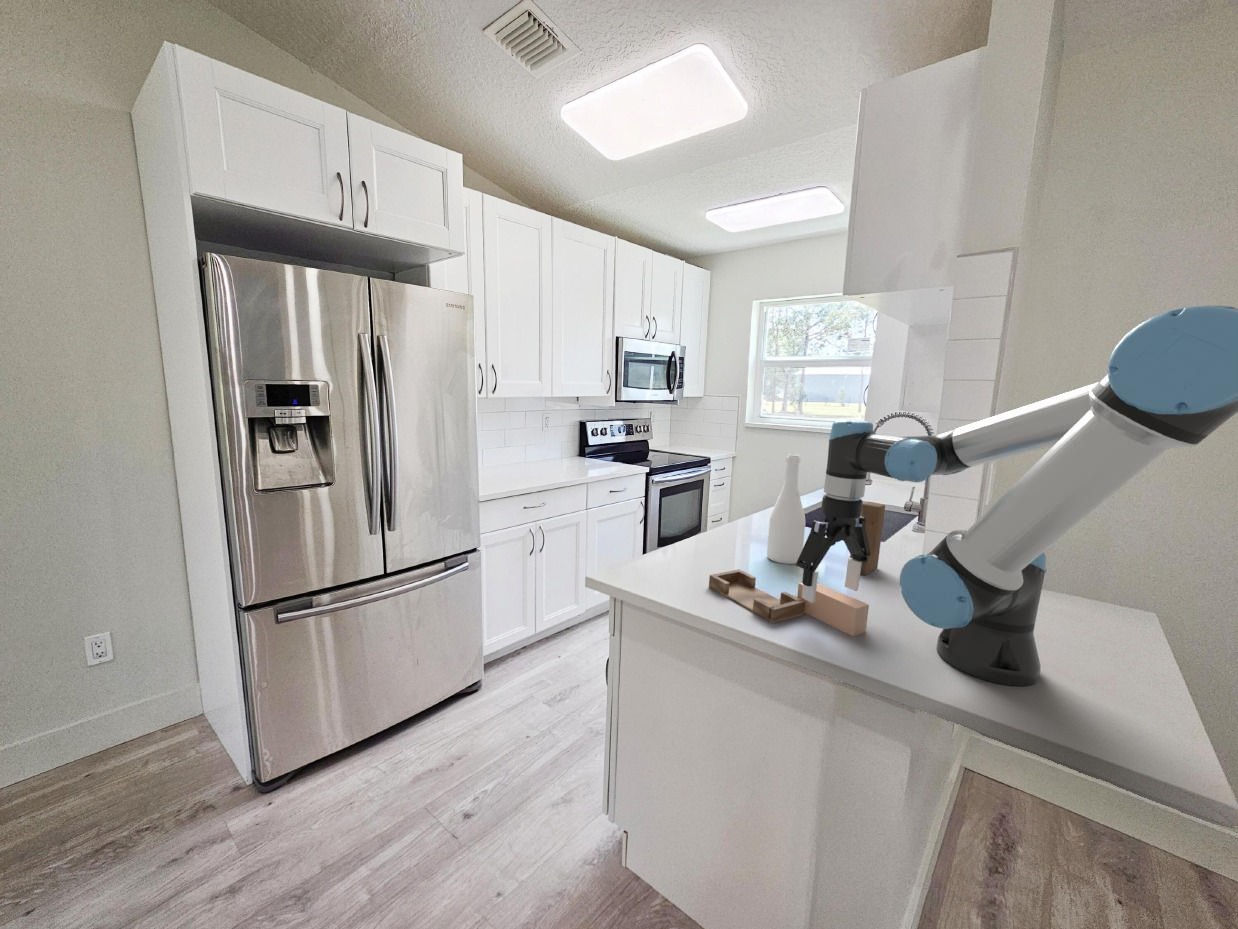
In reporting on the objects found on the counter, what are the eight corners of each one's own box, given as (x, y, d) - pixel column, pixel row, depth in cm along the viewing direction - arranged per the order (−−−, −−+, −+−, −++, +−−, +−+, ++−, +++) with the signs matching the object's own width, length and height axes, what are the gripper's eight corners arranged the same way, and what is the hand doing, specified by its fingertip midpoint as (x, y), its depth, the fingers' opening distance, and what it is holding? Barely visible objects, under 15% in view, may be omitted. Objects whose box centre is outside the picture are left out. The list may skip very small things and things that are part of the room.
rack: (804, 614, 108) (805, 601, 107) (772, 623, 103) (773, 609, 103) (738, 580, 125) (739, 569, 125) (708, 587, 121) (709, 575, 120)
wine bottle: (804, 566, 137) (815, 458, 132) (768, 563, 138) (778, 456, 134) (797, 555, 146) (808, 453, 141) (764, 552, 148) (773, 451, 143)
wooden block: (864, 576, 132) (873, 509, 129) (847, 571, 135) (855, 505, 132) (877, 568, 138) (885, 504, 135) (860, 563, 141) (868, 501, 138)
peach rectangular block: (865, 632, 101) (869, 604, 100) (853, 637, 99) (856, 608, 98) (808, 605, 113) (810, 580, 112) (796, 608, 111) (798, 583, 110)
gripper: (865, 487, 111) (852, 578, 115) (785, 496, 99) (774, 597, 103) (897, 495, 105) (883, 590, 108) (816, 506, 93) (803, 613, 96)
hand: (830, 594), depth 106 cm, fingers open, 13 cm apart
